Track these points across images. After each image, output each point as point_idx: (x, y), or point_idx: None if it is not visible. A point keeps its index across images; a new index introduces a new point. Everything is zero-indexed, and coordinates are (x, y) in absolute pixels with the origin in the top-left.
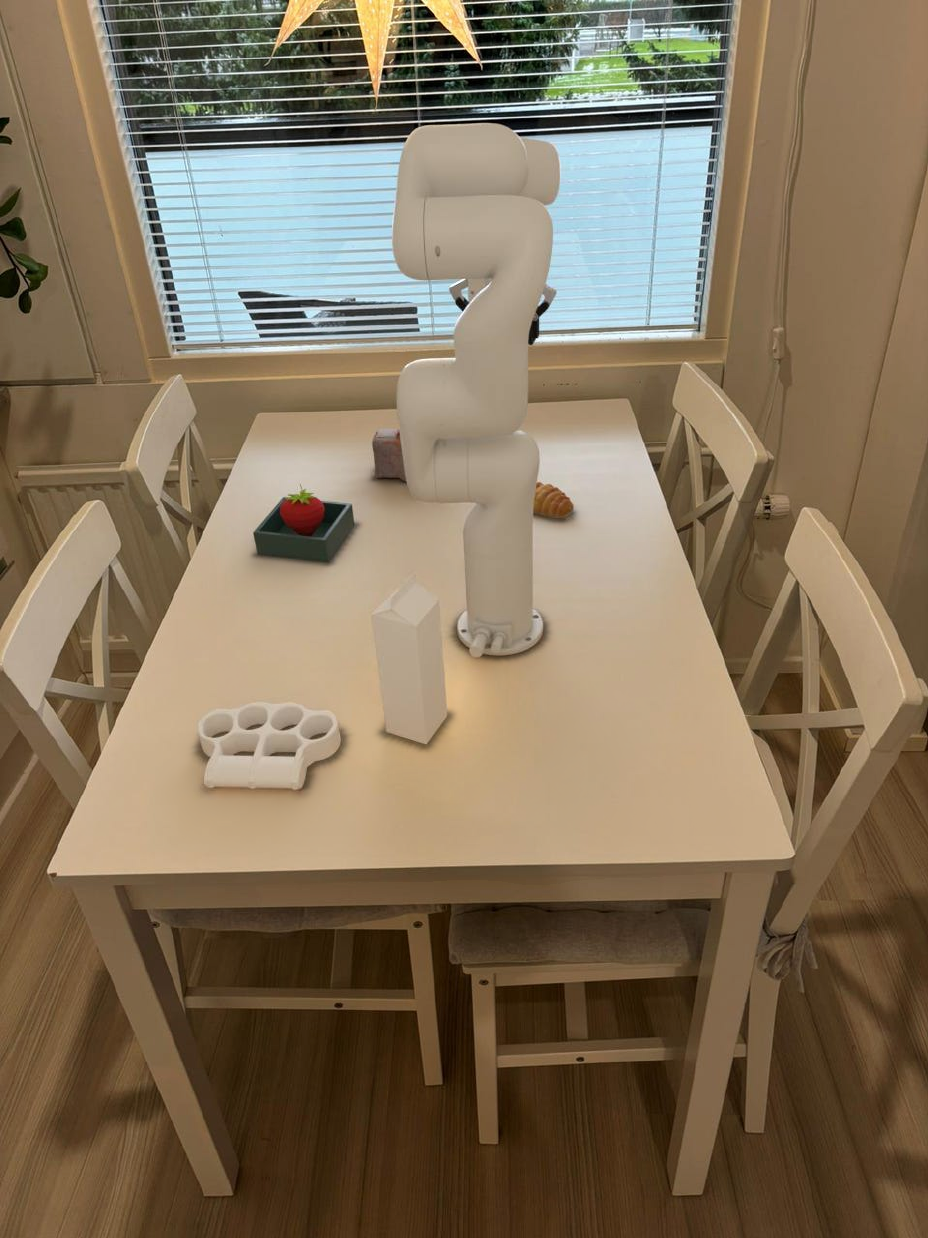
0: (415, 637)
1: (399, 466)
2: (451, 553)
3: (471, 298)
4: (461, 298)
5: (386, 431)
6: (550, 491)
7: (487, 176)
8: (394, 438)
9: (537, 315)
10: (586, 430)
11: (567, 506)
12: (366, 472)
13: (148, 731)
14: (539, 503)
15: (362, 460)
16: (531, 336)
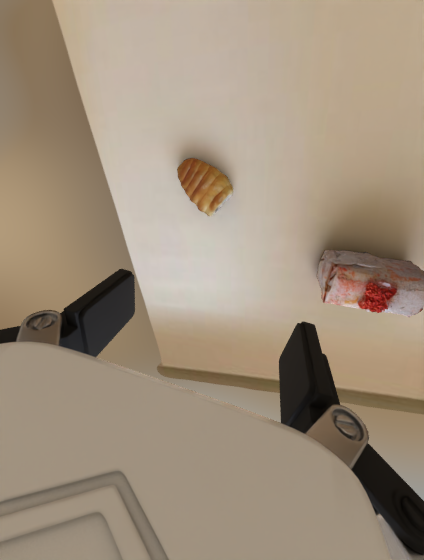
0: None
1: (382, 260)
2: (330, 49)
3: (362, 529)
4: (402, 543)
5: (409, 304)
6: (198, 187)
7: None
8: (400, 285)
9: (24, 320)
10: (182, 327)
11: (182, 166)
12: None
13: None
14: (211, 170)
15: None
16: (106, 279)
